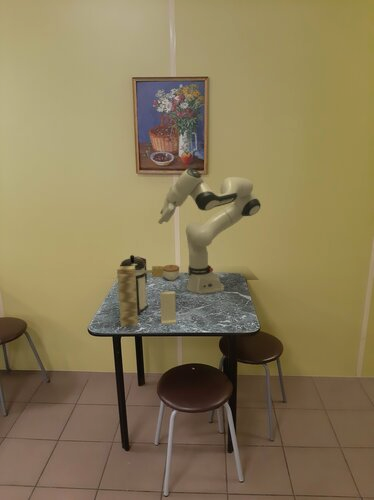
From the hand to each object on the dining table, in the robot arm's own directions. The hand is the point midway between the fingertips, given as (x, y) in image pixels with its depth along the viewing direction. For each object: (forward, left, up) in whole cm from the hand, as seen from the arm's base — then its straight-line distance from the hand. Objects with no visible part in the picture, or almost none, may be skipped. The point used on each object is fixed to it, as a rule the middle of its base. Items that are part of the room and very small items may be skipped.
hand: (160, 218), depth 178 cm
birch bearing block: (+17, +17, -48) cm, 54 cm away
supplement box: (+12, -37, -48) cm, 62 cm away
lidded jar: (-8, -40, -48) cm, 63 cm away
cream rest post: (-2, +17, -48) cm, 51 cm away
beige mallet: (+10, +17, -24) cm, 31 cm away
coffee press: (+15, +4, -48) cm, 51 cm away
